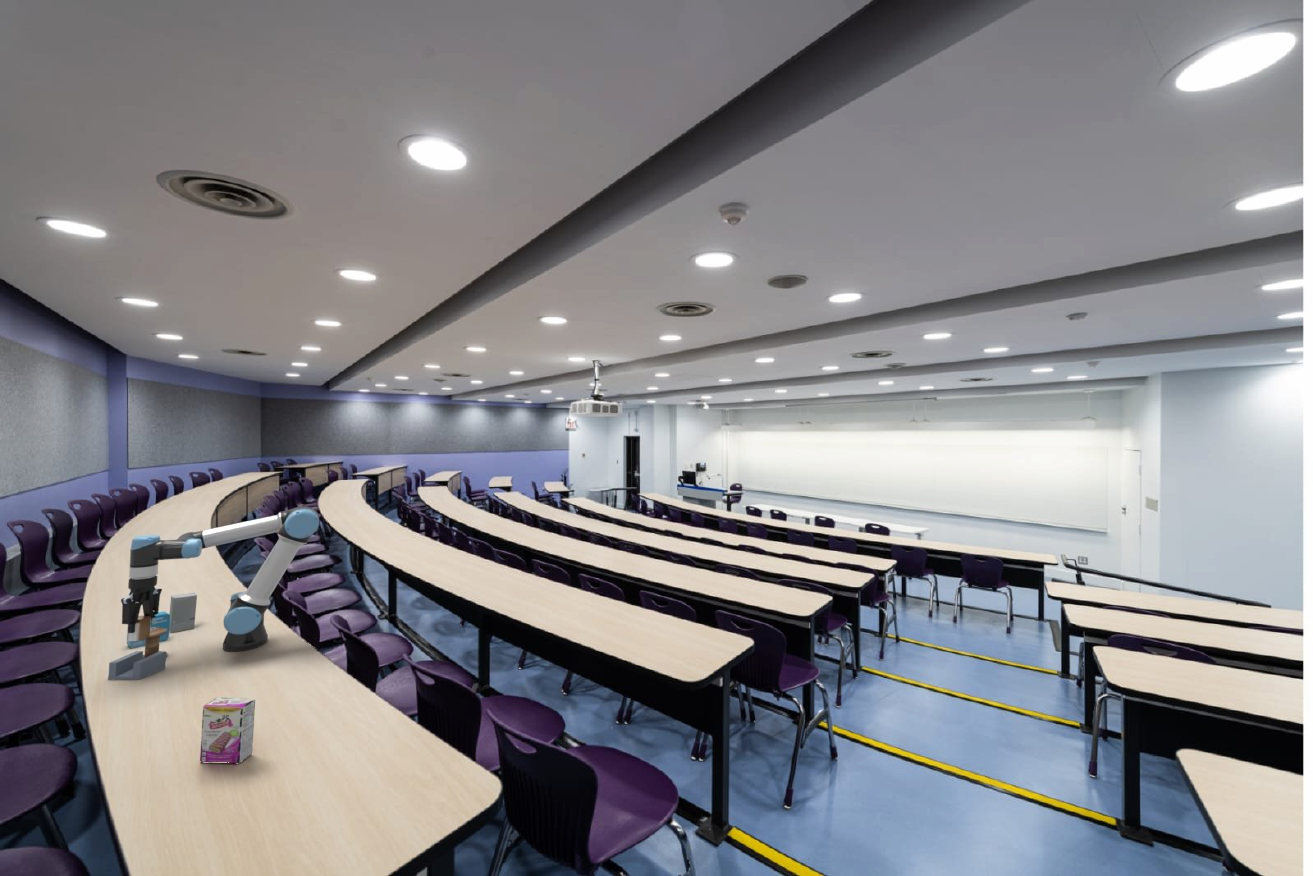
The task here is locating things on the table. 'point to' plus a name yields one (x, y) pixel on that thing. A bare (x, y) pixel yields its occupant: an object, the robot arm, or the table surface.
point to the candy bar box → (227, 730)
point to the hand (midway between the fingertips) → (139, 638)
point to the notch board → (136, 666)
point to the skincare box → (182, 612)
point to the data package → (158, 622)
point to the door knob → (153, 641)
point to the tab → (143, 627)
